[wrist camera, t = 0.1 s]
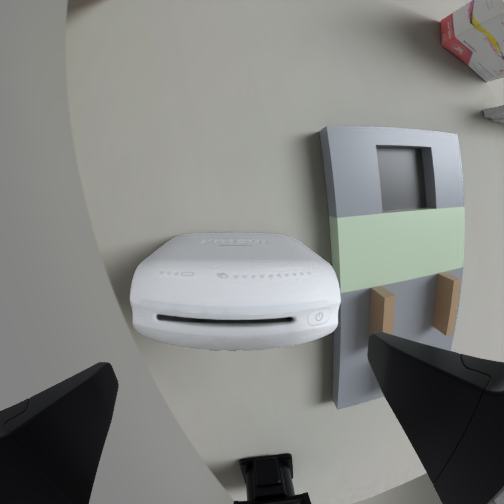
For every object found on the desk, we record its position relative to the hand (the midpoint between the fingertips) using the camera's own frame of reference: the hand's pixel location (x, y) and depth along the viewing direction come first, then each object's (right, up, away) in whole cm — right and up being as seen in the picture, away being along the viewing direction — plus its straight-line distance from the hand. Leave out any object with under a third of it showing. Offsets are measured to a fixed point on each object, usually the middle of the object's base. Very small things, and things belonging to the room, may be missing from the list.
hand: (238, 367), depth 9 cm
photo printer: (-1, +3, +14) cm, 15 cm away
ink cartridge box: (+26, +28, +11) cm, 40 cm away
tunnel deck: (+14, +2, +15) cm, 21 cm away
